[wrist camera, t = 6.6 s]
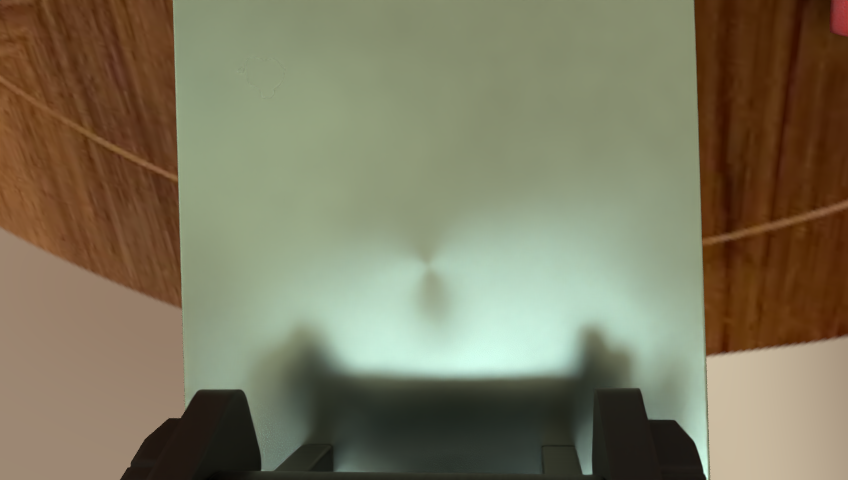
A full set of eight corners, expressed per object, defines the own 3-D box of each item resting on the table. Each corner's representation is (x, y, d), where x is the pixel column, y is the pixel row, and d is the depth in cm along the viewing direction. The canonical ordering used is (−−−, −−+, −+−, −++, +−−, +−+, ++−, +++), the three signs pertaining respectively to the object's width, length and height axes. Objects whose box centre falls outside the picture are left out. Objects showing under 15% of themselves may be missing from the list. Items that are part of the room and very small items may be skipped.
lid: (703, 563, 15) (817, 766, 9) (206, 550, 16) (33, 719, 11) (683, -47, 15) (783, -225, 9) (189, -6, 17) (8, -139, 11)
